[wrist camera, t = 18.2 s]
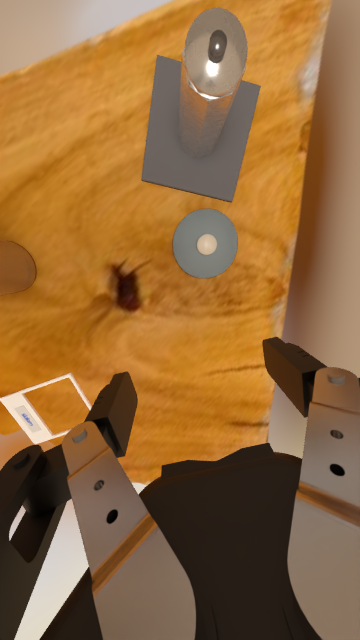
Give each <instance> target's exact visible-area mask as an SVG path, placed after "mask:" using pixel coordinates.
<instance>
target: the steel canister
mask: <svg viewBox="0 0 360 640" xmlns="http://www.w3.org/2000/svg"><path fill="white" fill-rule="evenodd" d="M246 60H247V39H246V35H245V31H244V29H243V27H242V25H241V23H240V21H239V20H238V19H237V17H236V16H235V15H234V14H232V13H231V12H229V11H228V10H225V9H222V8H212V9H208V10H206V11H204V12H203V13H201V14H200V15H199V16H198V17H197V18H196V19H195V20H194V22H193V23H192V25H191V27H190V29H189V31H188V34H187V38H186V42H185V47H184V49H183V52H182V64H181V85H180V106H179V127H178V133H179V138H180V143H181V147H182V150H183V151H184V152H185V153H187V154H188V155H189V156H191V157H192V158H193V159H199V158H202V157H206V156H209V155H210V154H211V152H212V150H213V148H214V146H215V144H216V142H217V141H218V138H219V136H220V133H221V131H222V128H223V126H224V123H225V120H226V118H227V115H228V113H229V110H230V108H231V105H232V103H233V100H234V97H235V95H236V92H237V90H238V87H239V85H240V82H241V80H242V77H243V74H244V72H245V69H246Z"/></svg>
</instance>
